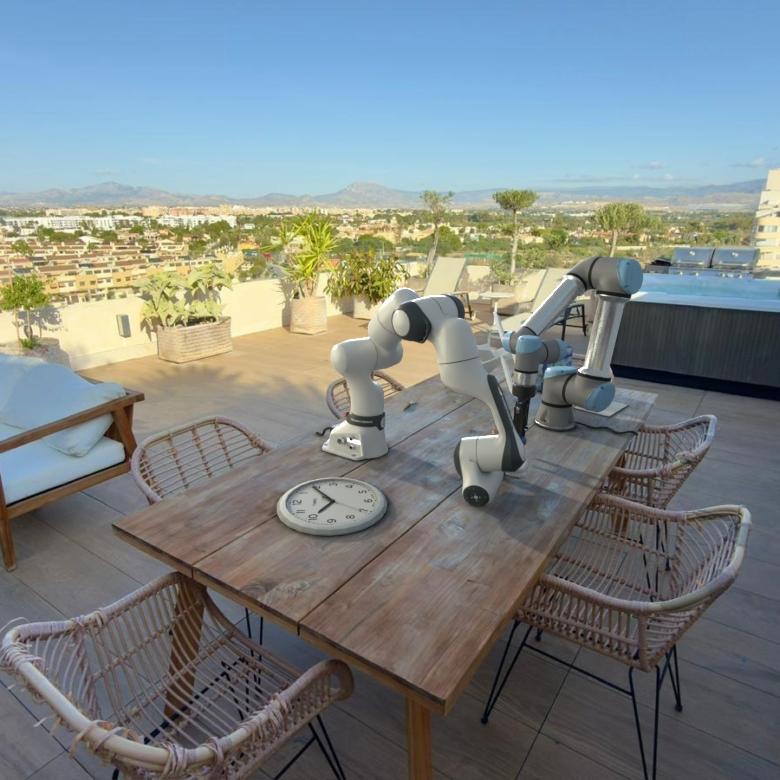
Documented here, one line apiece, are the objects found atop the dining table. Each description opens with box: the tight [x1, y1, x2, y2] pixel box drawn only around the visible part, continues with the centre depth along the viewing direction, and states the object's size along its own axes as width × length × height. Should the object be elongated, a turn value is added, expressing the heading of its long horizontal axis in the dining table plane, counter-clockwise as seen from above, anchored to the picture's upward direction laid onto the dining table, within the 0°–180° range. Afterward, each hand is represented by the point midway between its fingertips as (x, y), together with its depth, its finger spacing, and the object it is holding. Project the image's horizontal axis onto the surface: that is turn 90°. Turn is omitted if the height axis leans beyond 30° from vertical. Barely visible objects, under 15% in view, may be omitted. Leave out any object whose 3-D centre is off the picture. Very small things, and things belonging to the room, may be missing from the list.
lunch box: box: [536, 345, 574, 392], centre depth 249 cm, size 26×11×21 cm, turn 134°
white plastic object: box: [440, 310, 518, 400], centre depth 245 cm, size 37×45×31 cm
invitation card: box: [573, 400, 629, 418], centre depth 226 cm, size 21×1×15 cm
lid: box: [521, 436, 527, 446], centre depth 174 cm, size 5×5×2 cm
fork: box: [403, 395, 419, 411], centre depth 222 cm, size 3×16×2 cm, turn 160°
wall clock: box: [276, 476, 388, 537], centre depth 142 cm, size 30×2×30 cm
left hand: (497, 453), depth 162 cm, fingers closed on jar, 5 cm apart
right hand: (517, 450), depth 175 cm, fingers closed on lid, 5 cm apart
